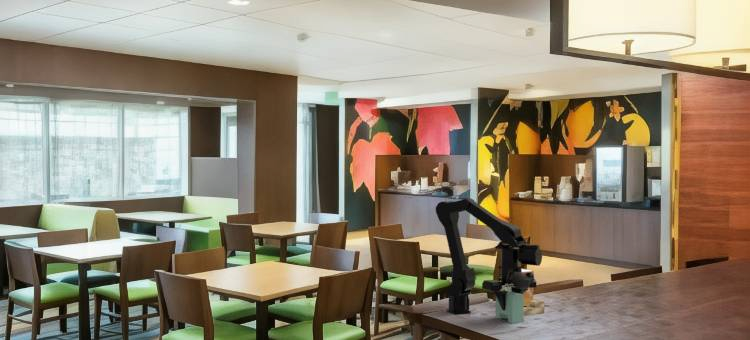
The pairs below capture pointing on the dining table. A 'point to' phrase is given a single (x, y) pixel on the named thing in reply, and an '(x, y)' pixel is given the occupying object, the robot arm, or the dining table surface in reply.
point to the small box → (527, 294)
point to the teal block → (511, 307)
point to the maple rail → (534, 307)
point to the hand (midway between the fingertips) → (509, 309)
